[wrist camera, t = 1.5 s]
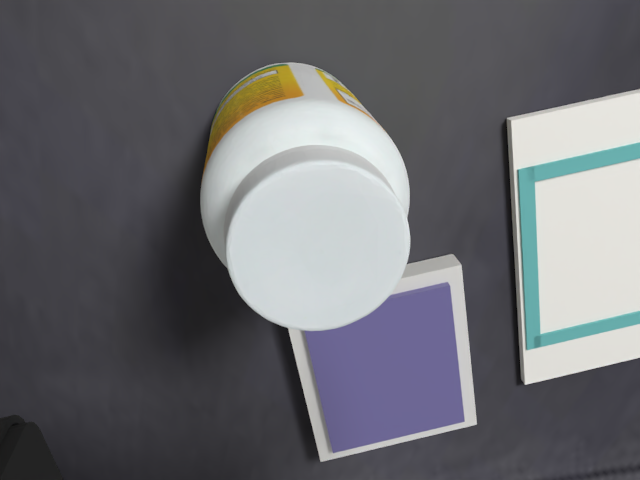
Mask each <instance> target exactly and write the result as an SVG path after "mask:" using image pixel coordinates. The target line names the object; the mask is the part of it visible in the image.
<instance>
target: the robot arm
mask: <svg viewBox="0 0 640 480" xmlns="http://www.w3.org/2000/svg"><path fill="white" fill-rule="evenodd" d="M0 480H63V478H62V476H61V473H60V471H59V469H58V467H57V465H56V463H55V461H54V459H53V456H52V454H51V452H50V450H49V448H48V446H47V444H46V442H45V440H44V437H43V435H42V433H41V431H40V429H39V428H38V426H37V425H36V424H35V423H34V422H28V423H25V421H24V420H23V419H22V418H21V417H20V416H17V415H12V416H8V417H4V418H0Z"/></svg>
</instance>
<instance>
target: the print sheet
mask: <svg viewBox="0 0 640 480" xmlns="http://www.w3.org/2000/svg"><path fill="white" fill-rule="evenodd" d="M507 134H508V152H509V170H510V188H511V206H512V224H513V243H514V261H515V279H516V297H517V315H518V333H519V351H520V369H521V380H522V381H523V383H524V384H525V385H526V384H531V383H535V382H539V381H543V380H547V379H552V378H556V377H560V376H564V375H568V374H573V373H577V372H581V371H585V370H589V369H594V368H598V367H602V366H606V365H610V364H615V363H619V362H623V361H627V360H632V359H636V358H640V89H638V90H633V91H629V92H624V93H619V94H615V95H610V96H606V97H601V98H597V99H592V100H587V101H583V102H578V103H574V104H569V105H565V106H560V107H555V108H551V109H546V110H542V111H537V112H533V113H528V114H523V115H519V116H514V117H510V118H507Z"/></svg>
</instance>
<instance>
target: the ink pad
mask: <svg viewBox="0 0 640 480" xmlns="http://www.w3.org/2000/svg"><path fill="white" fill-rule="evenodd" d="M288 330H289V334H290V339H291V343H292V347H293V351H294V355H295V359H296V363H297V367H298V371H299V375H300V379H301V383H302V387H303V392H304V396H305V400H306V404H307V408H308V412H309V416H310V420H311V424H312V428H313V432H314V436H315V440H316V444H317V449H318V453H319V457H320V461H321V462H322V461H326V460H331V459H335V458H339V457H343V456H347V455H352V454H356V453H360V452H364V451H368V450H372V449H377V448H381V447H385V446H389V445H393V444H397V443H402V442H406V441H410V440H414V439H418V438H422V437H427V436H431V435H435V434H439V433H443V432H447V431H452V430H456V429H460V428H464V427H468V426H472V425H477V421H476V411H475V400H474V390H473V380H472V369H471V359H470V349H469V339H468V328H467V318H466V308H465V297H464V287H463V277H462V267H461V264H460V262H459V261H458V260H457V259H456V257H455V256H454V255H453V254H450V255H445V256H441V257H437V258H432V259H428V260H423V261H419V262H415V263H410V264H407V265H406V268H405V270H404V273H403V275H402V277H401V279H400V281H399V283H398V284H397V286H396V288H395V289H394V290H393V292H392V293H391V295H390V296H389V297H388V298H387V299H386V300H385V301H384V302H383V303H382V304H381V305H380V306H379V307H378V308H377V309H375V310H374V311H373V312H371V313H370V314H368V315H367V316H365V317H363V318H361V319H359V320H357V321H355V322H353V323H351V324H348V325H346V326H343V327H339V328H336V329H330V330H323V331H302V330H296V329H290V328H288Z"/></svg>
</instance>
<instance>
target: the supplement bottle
mask: <svg viewBox="0 0 640 480" xmlns="http://www.w3.org/2000/svg"><path fill="white" fill-rule="evenodd" d="M409 203H410V190H409V181H408V176H407V171H406V168H405V165H404V162H403V159H402V157H401V155H400V153H399V151H398V149H397V147H396V146H395V144H394V143H393V141H392V140H391V138H390V137H389V135H388V134H387V133H386V132H385V131H384V129H383V128H382V127H381V126H380V125H379V123H378V122H377V121H376V120H375V119H374V118H373V117H372V116H371V114H370V113H369V112H368V111H367V110H366V109H365V108H364V107H363V106H362V104H361V103H360V102H359V101H358V100H357V98H356V97H355V96H354V95H353V94H352V93H351V92H350V91H349V90H348V89H347V88H346V87H345V86H344V85H343V84H342V83H341V82H340V81H339V80H337V79H336V78H335V77H334V76H332V75H330V74H329V73H327V72H325V71H323V70H321V69H319V68H317V67H314V66H311V65H307V64H302V63H277V64H272V65H268V66H265V67H262V68H260V69H258V70H256V71H254V72H252V73H250V74H248V75H247V76H245V77H244V78H242V79H241V80H240V81H239V82H237V83H236V84H235V85H234V86H233V87H232V88H231V89H230V90H229V91H228V93H227V94H226V95H225V96H224V98H223V99H222V101H221V103H220V104H219V106H218V108H217V111H216V113H215V116H214V119H213V122H212V126H211V131H210V138H209V144H208V150H207V156H206V161H205V167H204V171H203V177H202V183H201V192H200V206H201V216H202V221H203V226H204V229H205V232H206V235H207V238H208V240H209V242H210V244H211V246H212V248H213V250H214V251H215V253H216V255H217V256H218V258H219V259H220V260H221V262H222V263H223V264H224V265H225V266H226V267H227V269H228V272H229V275H230V278H231V280H232V282H233V284H234V286H235V288H236V290H237V292H238V294H239V295H240V296H241V297H242V299H243V300H244V301H245V302H246V304H247V305H248V306H249V307H251V308H252V309H253V310H254V311H255V312H257V313H258V314H259V315H261V316H262V317H263V318H265V319H267V320H269V321H271V322H273V323H275V324H278V325H280V326H283V327H287V328H290V329H296V330H302V331H323V330H330V329H336V328H339V327H343V326H346V325H348V324H351V323H353V322H355V321H357V320H359V319H361V318H363V317H365V316H367V315H368V314H370V313H371V312H373V311H374V310H375V309H377V308H378V307H379V306H380V305H381V304H382V303H383V302H384V301H385V300H386V299H387V298H388V297H389V296H390V295H391V293H392V292H393V290H394V289H395V288H396V286H397V284H398V283H399V281H400V279H401V277H402V275H403V273H404V270H405V268H406V265H407V261H408V256H409V250H410V232H409V225H408V221H407V216H408V211H409Z"/></svg>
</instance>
